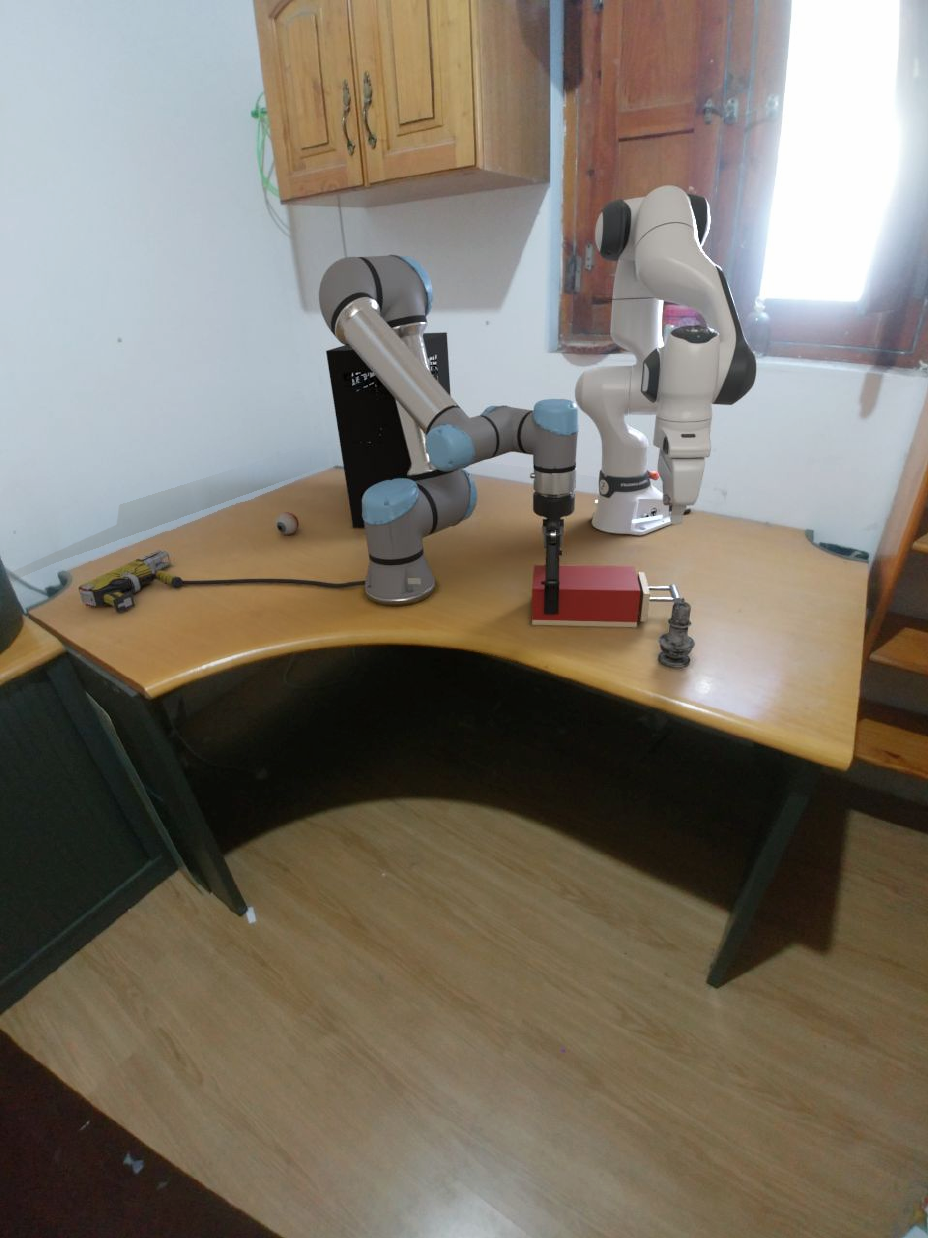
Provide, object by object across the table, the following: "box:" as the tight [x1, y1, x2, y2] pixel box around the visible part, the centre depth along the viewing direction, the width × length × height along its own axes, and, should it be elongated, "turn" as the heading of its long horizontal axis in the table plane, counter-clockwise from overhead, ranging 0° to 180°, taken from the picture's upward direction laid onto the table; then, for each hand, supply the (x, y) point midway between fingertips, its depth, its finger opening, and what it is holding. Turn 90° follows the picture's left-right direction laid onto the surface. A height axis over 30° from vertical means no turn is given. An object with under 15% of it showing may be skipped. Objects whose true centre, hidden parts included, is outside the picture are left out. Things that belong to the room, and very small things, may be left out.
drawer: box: [637, 571, 682, 623], centre depth 117 cm, size 25×9×6 cm, turn 82°
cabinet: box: [531, 564, 640, 628], centre depth 118 cm, size 20×10×8 cm, turn 82°
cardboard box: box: [325, 331, 452, 529], centre depth 169 cm, size 38×20×45 cm, turn 167°
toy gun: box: [78, 549, 183, 614], centre depth 138 cm, size 5×24×15 cm
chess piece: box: [657, 597, 696, 668], centre depth 101 cm, size 6×6×12 cm
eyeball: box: [275, 511, 300, 536], centre depth 163 cm, size 6×6×6 cm
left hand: (551, 599), depth 119 cm, fingers closed on cabinet, 10 cm apart
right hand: (671, 513), depth 108 cm, fingers open, 8 cm apart
